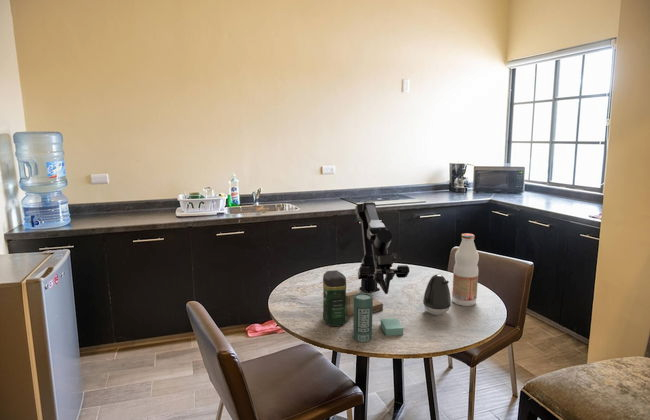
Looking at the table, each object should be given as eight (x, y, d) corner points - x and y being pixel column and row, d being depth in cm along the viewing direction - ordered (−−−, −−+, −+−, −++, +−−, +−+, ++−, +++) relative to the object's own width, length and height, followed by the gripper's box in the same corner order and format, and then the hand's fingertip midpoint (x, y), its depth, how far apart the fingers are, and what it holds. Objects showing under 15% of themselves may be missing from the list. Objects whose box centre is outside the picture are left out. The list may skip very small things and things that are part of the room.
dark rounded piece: (435, 320, 163) (437, 281, 160) (417, 310, 172) (418, 272, 169) (456, 315, 168) (458, 276, 165) (437, 305, 177) (439, 268, 174)
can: (370, 333, 154) (371, 292, 151) (372, 342, 148) (373, 299, 145) (352, 333, 153) (353, 292, 150) (354, 342, 147) (354, 299, 145)
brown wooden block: (358, 299, 176) (370, 306, 170) (369, 296, 179) (382, 303, 173) (357, 306, 177) (370, 313, 170) (369, 302, 180) (382, 309, 173)
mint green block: (380, 318, 159) (385, 328, 152) (397, 317, 160) (403, 328, 152) (380, 325, 160) (385, 336, 152) (397, 324, 160) (402, 335, 153)
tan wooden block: (343, 313, 170) (343, 293, 168) (355, 310, 173) (356, 290, 171) (347, 316, 167) (347, 296, 166) (360, 312, 171) (360, 292, 169)
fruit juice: (456, 306, 175) (460, 238, 170) (448, 297, 185) (452, 231, 179) (479, 306, 176) (484, 237, 170) (471, 297, 185) (475, 231, 179)
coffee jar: (348, 326, 159) (348, 276, 156) (326, 328, 158) (326, 278, 154) (341, 314, 169) (341, 267, 165) (321, 316, 167) (320, 269, 163)
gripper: (359, 246, 163) (364, 285, 155) (409, 244, 165) (416, 283, 157) (355, 259, 172) (360, 297, 164) (402, 258, 174) (409, 295, 166)
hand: (386, 293), depth 162 cm, fingers closed
